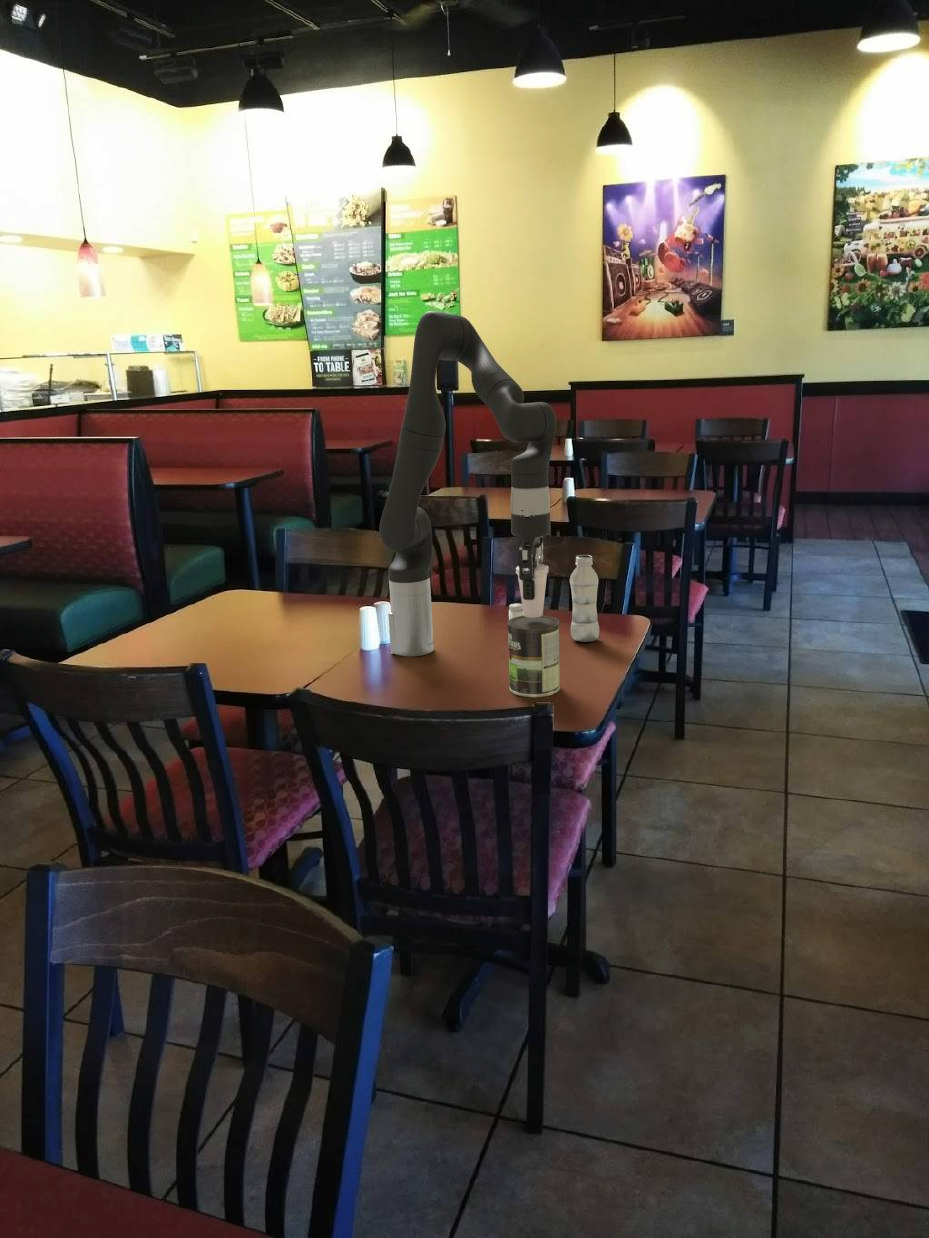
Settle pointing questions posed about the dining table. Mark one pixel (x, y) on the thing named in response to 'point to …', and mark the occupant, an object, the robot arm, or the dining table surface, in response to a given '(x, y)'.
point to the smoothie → (536, 605)
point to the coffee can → (533, 656)
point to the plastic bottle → (584, 600)
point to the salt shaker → (515, 610)
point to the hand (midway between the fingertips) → (532, 594)
